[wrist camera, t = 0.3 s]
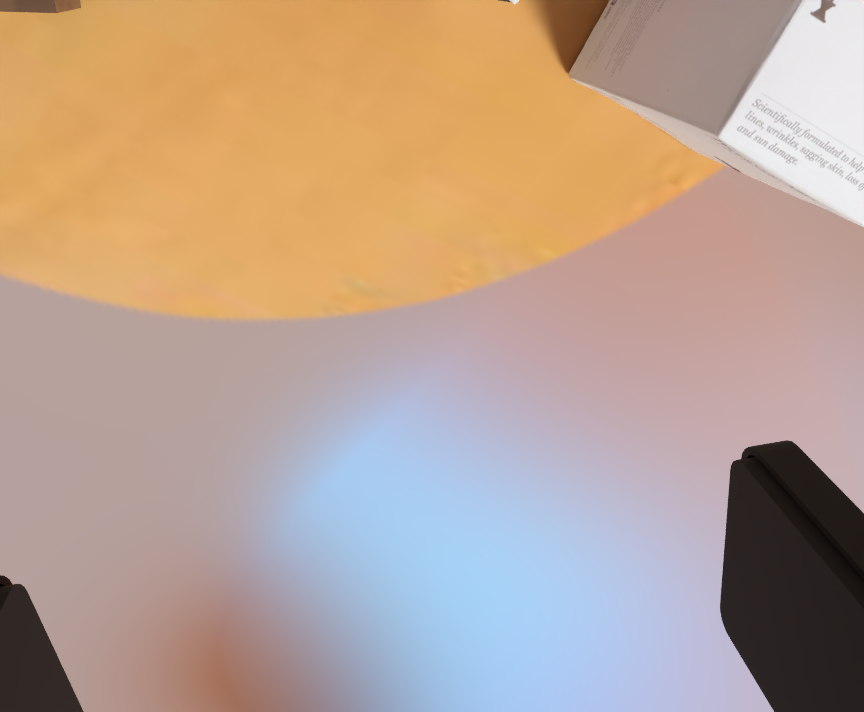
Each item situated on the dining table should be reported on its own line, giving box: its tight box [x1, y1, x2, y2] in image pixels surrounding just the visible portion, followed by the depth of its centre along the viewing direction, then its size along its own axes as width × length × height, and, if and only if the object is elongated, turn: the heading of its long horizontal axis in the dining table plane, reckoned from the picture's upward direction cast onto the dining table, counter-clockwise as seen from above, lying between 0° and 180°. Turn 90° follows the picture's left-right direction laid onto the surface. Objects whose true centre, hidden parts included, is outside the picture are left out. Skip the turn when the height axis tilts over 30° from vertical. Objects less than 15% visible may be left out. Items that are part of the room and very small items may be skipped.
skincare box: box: [569, 0, 864, 227], centre depth 31 cm, size 8×6×15 cm
